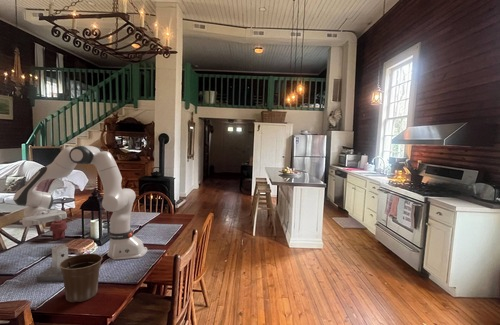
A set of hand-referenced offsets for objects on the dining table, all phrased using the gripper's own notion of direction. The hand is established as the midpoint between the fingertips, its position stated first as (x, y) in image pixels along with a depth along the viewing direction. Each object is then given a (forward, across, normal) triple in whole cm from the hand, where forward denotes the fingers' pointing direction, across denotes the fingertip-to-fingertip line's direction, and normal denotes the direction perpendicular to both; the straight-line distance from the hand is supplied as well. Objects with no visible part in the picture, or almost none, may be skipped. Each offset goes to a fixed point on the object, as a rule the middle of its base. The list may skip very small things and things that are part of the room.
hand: (50, 220), depth 151 cm
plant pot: (+45, -4, +25) cm, 51 cm away
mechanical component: (-38, +18, +24) cm, 49 cm away
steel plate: (+17, -3, +24) cm, 30 cm away
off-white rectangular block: (+17, -3, +22) cm, 28 cm away
